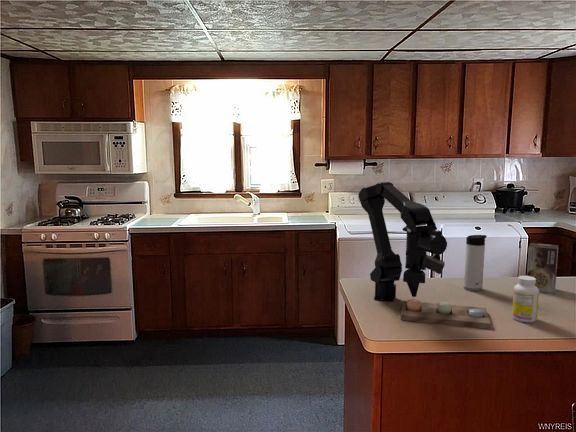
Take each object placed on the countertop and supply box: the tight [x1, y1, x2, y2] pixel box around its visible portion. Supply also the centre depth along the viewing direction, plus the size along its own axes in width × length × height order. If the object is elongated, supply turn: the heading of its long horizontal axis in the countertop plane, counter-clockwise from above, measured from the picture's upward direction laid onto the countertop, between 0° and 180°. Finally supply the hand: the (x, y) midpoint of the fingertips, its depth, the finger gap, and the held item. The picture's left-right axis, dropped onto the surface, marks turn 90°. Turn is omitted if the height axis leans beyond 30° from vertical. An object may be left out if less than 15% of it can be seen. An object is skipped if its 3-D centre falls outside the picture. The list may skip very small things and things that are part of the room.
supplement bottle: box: [511, 275, 540, 323], centre depth 137 cm, size 7×7×13 cm
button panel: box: [400, 300, 492, 330], centre depth 141 cm, size 25×13×2 cm, turn 73°
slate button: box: [468, 309, 483, 318], centre depth 139 cm, size 4×4×2 cm
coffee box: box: [526, 242, 559, 294], centre depth 164 cm, size 9×6×16 cm
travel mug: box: [463, 234, 487, 292], centre depth 165 cm, size 6×7×20 cm
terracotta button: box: [406, 298, 421, 312], centre depth 143 cm, size 4×4×2 cm
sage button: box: [437, 301, 452, 315], centre depth 141 cm, size 4×4×2 cm
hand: (414, 296), depth 143 cm, fingers closed
